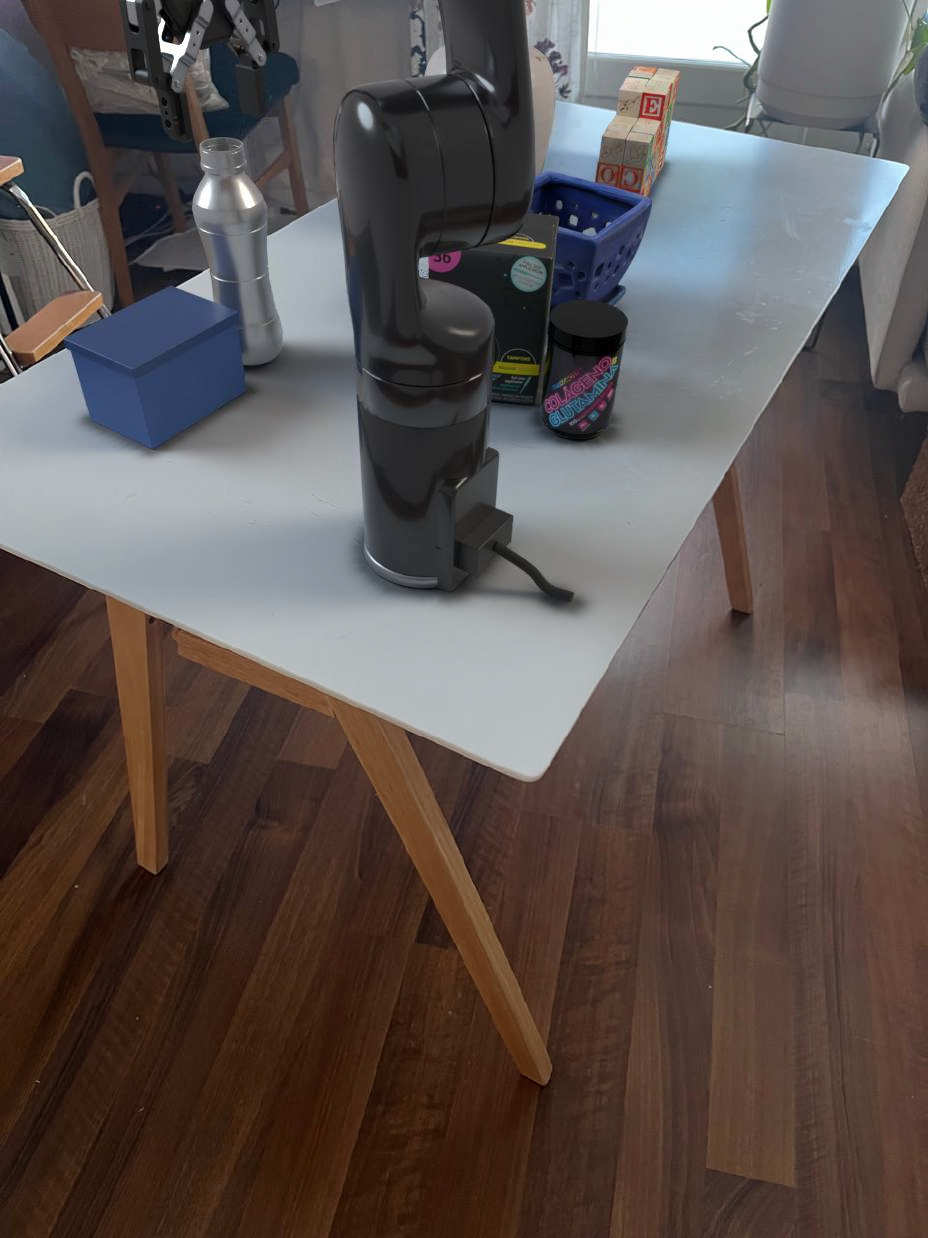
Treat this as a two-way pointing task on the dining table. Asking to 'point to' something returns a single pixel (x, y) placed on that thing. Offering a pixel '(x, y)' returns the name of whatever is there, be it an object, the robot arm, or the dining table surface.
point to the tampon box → (511, 300)
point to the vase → (541, 97)
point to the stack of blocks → (638, 131)
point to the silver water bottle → (237, 247)
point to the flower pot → (586, 259)
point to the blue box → (159, 365)
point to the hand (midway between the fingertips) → (218, 126)
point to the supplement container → (582, 368)
